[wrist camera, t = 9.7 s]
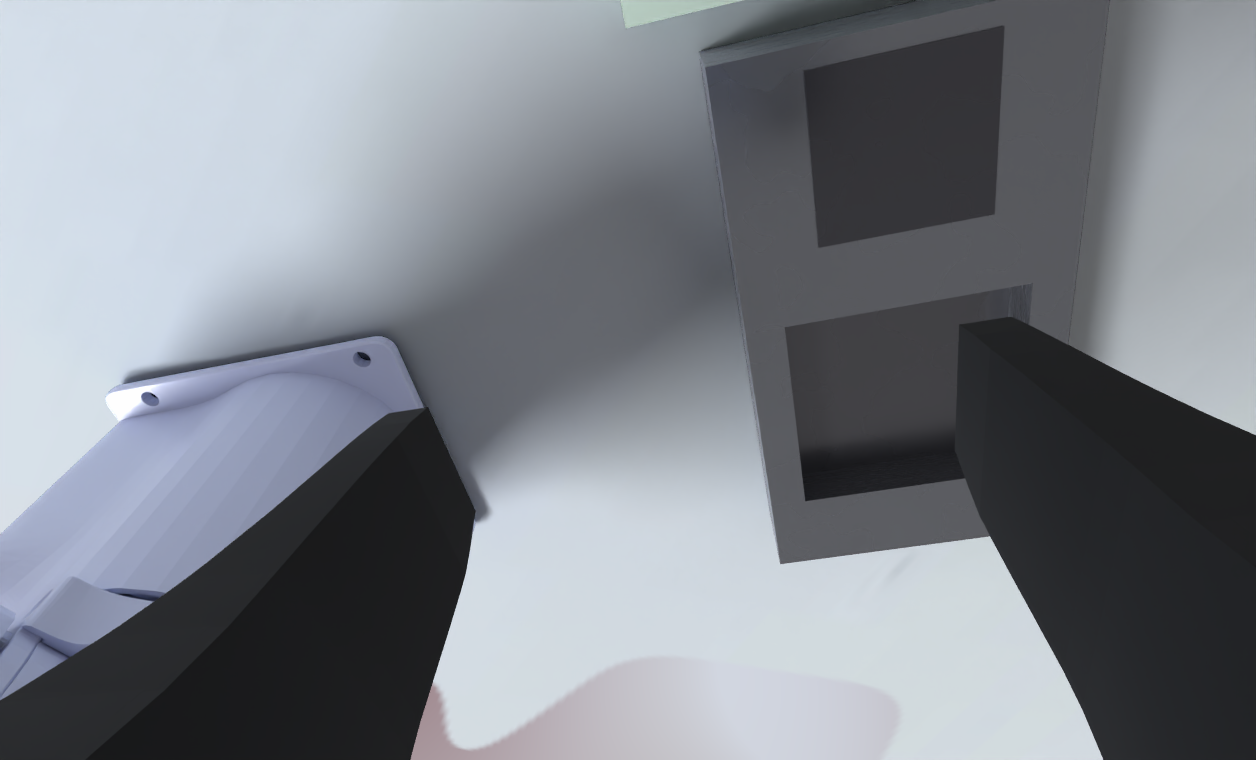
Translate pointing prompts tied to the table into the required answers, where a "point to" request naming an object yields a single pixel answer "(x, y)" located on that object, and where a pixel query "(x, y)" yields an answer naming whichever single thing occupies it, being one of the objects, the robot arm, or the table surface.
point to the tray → (663, 9)
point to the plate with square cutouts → (895, 241)
